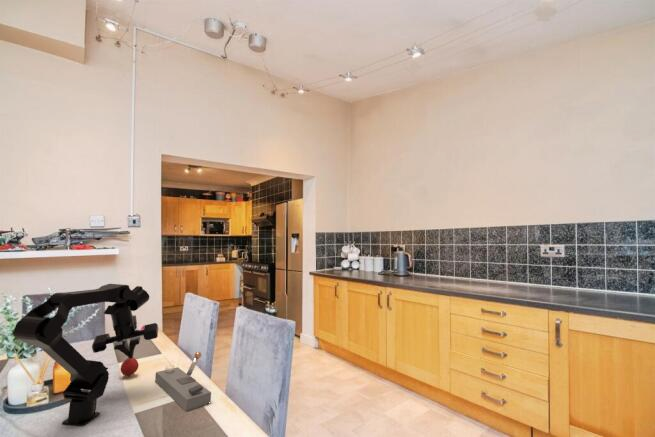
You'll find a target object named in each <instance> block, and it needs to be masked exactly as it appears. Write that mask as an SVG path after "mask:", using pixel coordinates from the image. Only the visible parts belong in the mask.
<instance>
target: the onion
mask: <svg viewBox="0 0 655 437" xmlns="http://www.w3.org/2000/svg"><path fill="white" fill-rule="evenodd" d="M127 357H128V356H127ZM138 369H139V362H138V360H137V359H136V358H135V357H133V358H131V359H130V358H129V357H128V358H126V359H125V360H124V361H123V362H122V363H121V365H120V372H121V374H123V376H125V377H127V378H130V377H131V376H132V375H134V374H135V373H136V372H137V370H138Z"/></svg>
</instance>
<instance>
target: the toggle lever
mask: <svg viewBox="0 0 655 437" xmlns="http://www.w3.org/2000/svg"><path fill="white" fill-rule="evenodd" d="M193 356H194V357H193V360H192V362H191V364H190V366H189V368H188V370H187V372H186V374H187V375H189V376H191V377H192V374H193V371H194V370H195V368H196V366H197V364H198V361H199V359H200V358H202V352H200V351H198V352H195V353H194V355H193Z"/></svg>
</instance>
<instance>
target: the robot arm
mask: <svg viewBox="0 0 655 437" xmlns="http://www.w3.org/2000/svg"><path fill="white" fill-rule="evenodd" d="M149 300H150V294H149V293H148V292H147V290H145V289H143V286H142V285H141V286H139V285H137V286H135V287H134V288H133V289H130V285H128V284H120V283H118V284H117V283H108V284H104V285H101V286H100V287H99V288H96V289H87V290H77V291H70V292H55V293H53V294H52V295H50V296H49V297H48V299H47V300H45V301H44V302H43V303H42V302H41V304H39V305H37V306H35V307H33V308H32V309H31V310H29V311H28V312H27V314H25V316H23V317H22V318H20V320H18V322H17V323H16V325H15V327H14V329H13V330H14V331H13V332H12V335H13V336H14V338H15V339H17V340H19V341H20V342H23V343H25V344H27V345H30V346H33V347H37V348H39V349H41V350H42V351H43V352H44V353H45V354H46V355H48V356H49V357H50V358H52V360H54V361H55V362H56V363H57V364H58V365H59V366H61V367H62V368H63V369H64V370H65V371H67V373H68V374H70V375H69V376H70V378H69V381H70V383H69V384H68V385H67V387H66V388H65V389H64V390H63V393H62V395H63V399H64V400H67V399H68V400H70V401H69V407H68V408H69V409H68V417H67V418H66V419H65V420H63V421H62V422H61V424H62V425H72V426H86V425H87V424H88V423H90V422H91V421H93V420H94V419H95V418H97V417H98V416H100V415H101V412H98V411H96V410H97V402H98V399H99V398H101V397H102V396H104V393H105V390H106V388H107V385H108V382H109V378H110V377H109V376H110V373H109V371H108V369H109V367H106V366H105V364H104V362H102V361H100V360H91V359H86V358H85V357H84V356H83V355H82V354H81V353H80V352H79V351H78V350H77V349H76V348H74V347H73V345H71V344H70V342H68V340H67V339H66V338H64V337H63V331H64V330H63V326H64V325H65V324H66V322H67V321H68V318H69V313H70V311H71V310H72V309H73V308H75V307H81V306H82V307H83V306H87V305H88V306H89V305H93V304H94V305H95V304H100V303H113V304H112V305H107V307H106V309H105V310H104V311H103V314H104V315H108V316H109V315H110V317H111V321H112V327H113V331H114V334H115V335H114V336H111V335H110V333H104V334H100V335H96V336H95V338H94V340H93V342H92V344H91V345H92V346H91V349H92V353H95V354H96V353H99V352H104V351H105V350H106V349H107V345H110V344H113V348H114V349H113V350H114V351H120V352H121V353H122V354H124V355H125V356H127V357H129V358H130V359H131V358H134V353H135V348H136V346H137V345H139V344H140V341H141V337H143V339H144V340H146V341H150V340H154V339H157V338H158V337H159V336H158V335H159V326H158V323H156V322H153V323H149V324H144V328H143V329H141V330H140V329H137V328H138V323H137V315H135V314H134V315H133V313H132V312H135V311H137V310H139V308H141V307H142V306H144V305H145V304H146V303H147V302H148V301H149ZM56 309H57V312H56V313H55V314H54V315H53V317H47V316H48V315H49V314H51V313H53V312H55V310H56ZM128 340H129V342H128Z"/></svg>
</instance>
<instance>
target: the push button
mask: <svg viewBox="0 0 655 437" xmlns="http://www.w3.org/2000/svg"><path fill="white" fill-rule="evenodd" d="M174 368H175V365H173V364H169V365H165V369H164V370H165V372H166V373H172V372H174Z"/></svg>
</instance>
